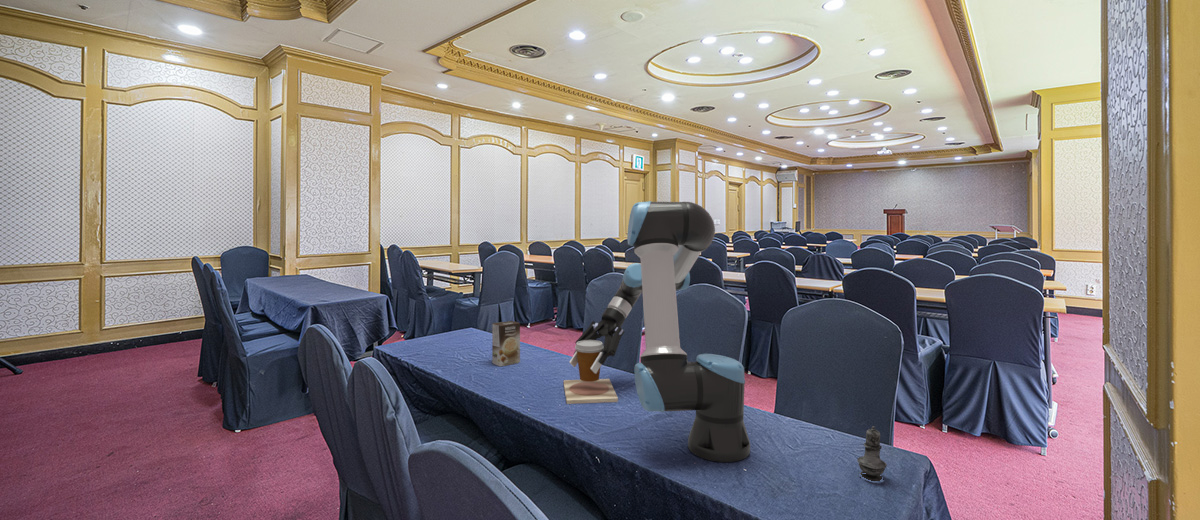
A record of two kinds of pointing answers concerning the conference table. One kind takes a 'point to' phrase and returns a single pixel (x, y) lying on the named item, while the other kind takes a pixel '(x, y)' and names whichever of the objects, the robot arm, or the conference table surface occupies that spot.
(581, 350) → the disposable coffee cup
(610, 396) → the birch board
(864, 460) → the dark grey chess piece
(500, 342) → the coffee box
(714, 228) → the robot arm
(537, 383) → the conference table surface
